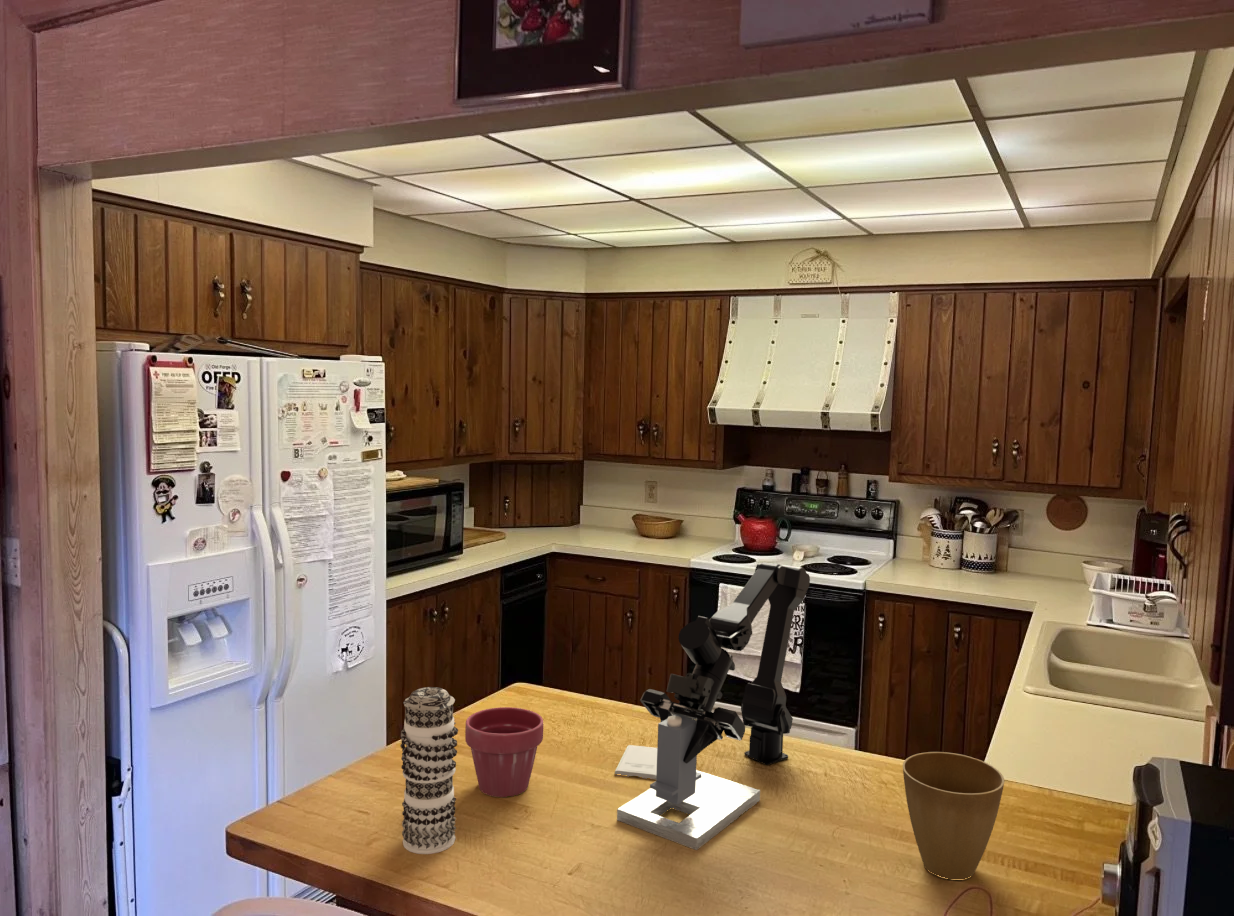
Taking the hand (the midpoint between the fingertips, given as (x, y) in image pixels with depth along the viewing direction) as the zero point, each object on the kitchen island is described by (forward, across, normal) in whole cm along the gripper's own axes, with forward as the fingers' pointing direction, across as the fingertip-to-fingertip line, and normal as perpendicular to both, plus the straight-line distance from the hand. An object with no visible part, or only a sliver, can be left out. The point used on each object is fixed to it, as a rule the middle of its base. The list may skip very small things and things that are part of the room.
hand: (672, 758), depth 155 cm
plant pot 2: (-2, +42, +19) cm, 46 cm away
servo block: (+4, 0, +6) cm, 7 cm away
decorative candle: (+29, -28, -12) cm, 42 cm away
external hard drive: (-3, -18, +21) cm, 28 cm away
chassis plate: (+4, 0, +13) cm, 13 cm away
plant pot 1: (+14, -32, +3) cm, 35 cm away
